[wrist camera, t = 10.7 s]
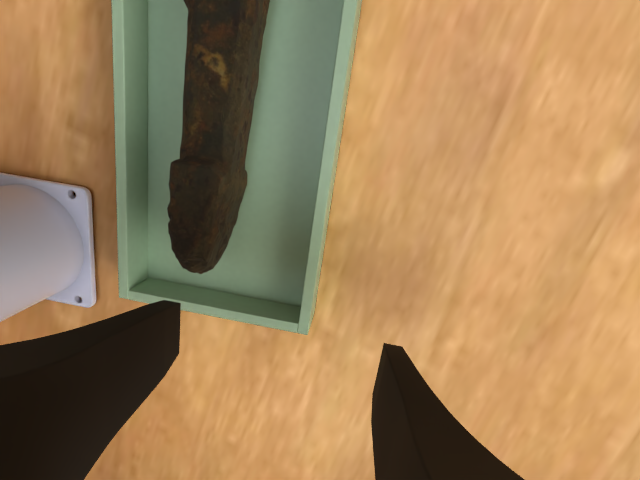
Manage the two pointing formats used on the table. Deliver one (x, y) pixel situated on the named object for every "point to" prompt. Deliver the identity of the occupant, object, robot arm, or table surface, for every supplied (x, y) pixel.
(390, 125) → the table surface
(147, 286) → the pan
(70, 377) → the robot arm
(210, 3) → the hand tool
